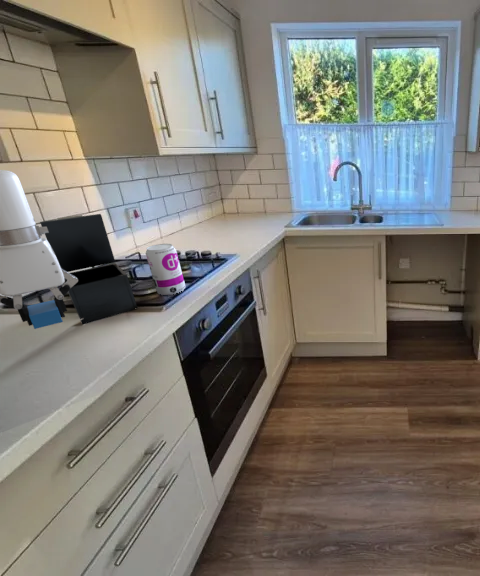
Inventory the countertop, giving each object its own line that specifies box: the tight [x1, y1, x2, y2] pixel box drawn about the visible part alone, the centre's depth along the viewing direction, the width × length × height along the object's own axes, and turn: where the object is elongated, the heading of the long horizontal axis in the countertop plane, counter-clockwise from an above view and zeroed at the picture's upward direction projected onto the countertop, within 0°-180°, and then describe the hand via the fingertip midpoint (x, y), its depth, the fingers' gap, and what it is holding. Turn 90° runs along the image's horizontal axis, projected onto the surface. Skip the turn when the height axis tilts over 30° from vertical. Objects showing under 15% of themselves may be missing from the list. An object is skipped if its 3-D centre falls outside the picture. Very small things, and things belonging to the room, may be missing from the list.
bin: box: [63, 262, 139, 326], centre depth 104 cm, size 15×13×11 cm
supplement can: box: [145, 243, 187, 296], centre depth 114 cm, size 8×8×15 cm
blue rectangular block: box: [27, 299, 63, 330], centre depth 77 cm, size 7×4×3 cm, turn 45°
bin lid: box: [39, 213, 116, 273], centre depth 104 cm, size 15×13×5 cm
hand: (46, 318), depth 78 cm, fingers closed on blue rectangular block, 4 cm apart
